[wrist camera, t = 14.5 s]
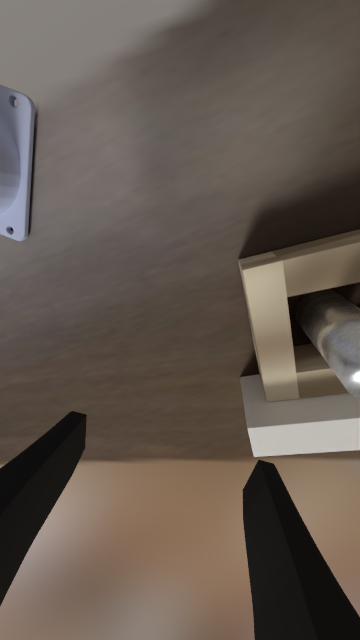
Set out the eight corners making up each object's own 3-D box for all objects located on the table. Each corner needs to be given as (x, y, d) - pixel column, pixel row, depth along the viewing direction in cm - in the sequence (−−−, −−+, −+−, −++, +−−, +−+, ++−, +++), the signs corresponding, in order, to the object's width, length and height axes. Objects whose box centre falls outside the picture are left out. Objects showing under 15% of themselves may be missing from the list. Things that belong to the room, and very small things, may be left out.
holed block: (238, 259, 16) (242, 270, 13) (402, 218, 13) (449, 220, 11) (259, 374, 19) (266, 402, 16) (394, 355, 17) (429, 383, 14)
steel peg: (318, 338, 17) (378, 413, 11) (284, 314, 17) (326, 378, 10) (354, 305, 16) (445, 368, 10) (318, 279, 15) (390, 327, 9)
